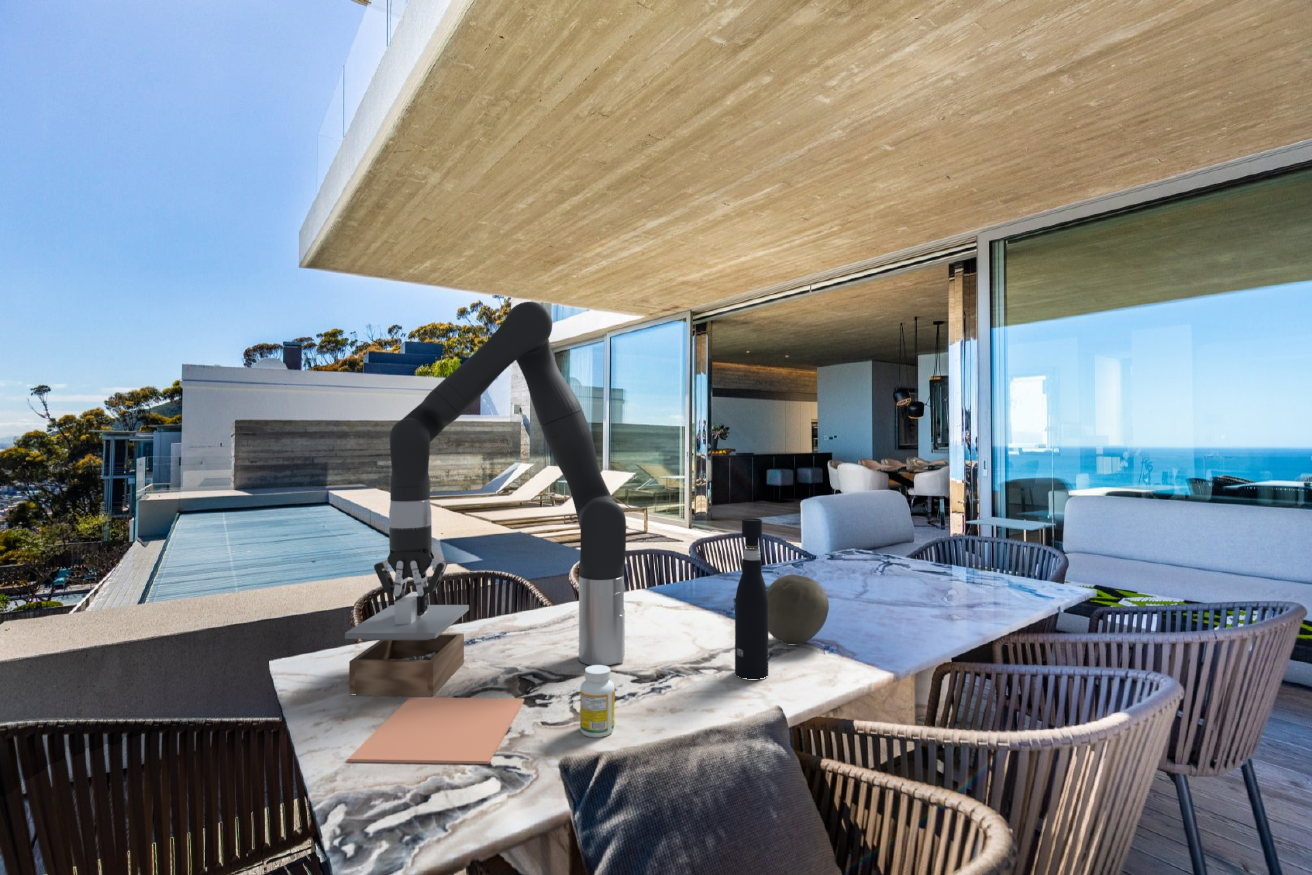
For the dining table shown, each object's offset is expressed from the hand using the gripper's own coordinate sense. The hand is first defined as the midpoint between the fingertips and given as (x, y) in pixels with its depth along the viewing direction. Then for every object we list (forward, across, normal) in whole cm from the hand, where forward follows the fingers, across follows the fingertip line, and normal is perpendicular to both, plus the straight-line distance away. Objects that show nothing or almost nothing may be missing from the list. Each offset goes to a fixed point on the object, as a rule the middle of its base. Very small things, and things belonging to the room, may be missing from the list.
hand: (411, 614), depth 124 cm
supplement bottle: (+13, -38, +21) cm, 45 cm away
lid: (+3, 0, 0) cm, 3 cm away
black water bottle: (+13, -65, -4) cm, 66 cm away
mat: (+12, -14, +21) cm, 28 cm away
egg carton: (+13, 0, 0) cm, 13 cm away
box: (+12, 0, 0) cm, 12 cm away
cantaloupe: (+13, -77, -24) cm, 81 cm away
